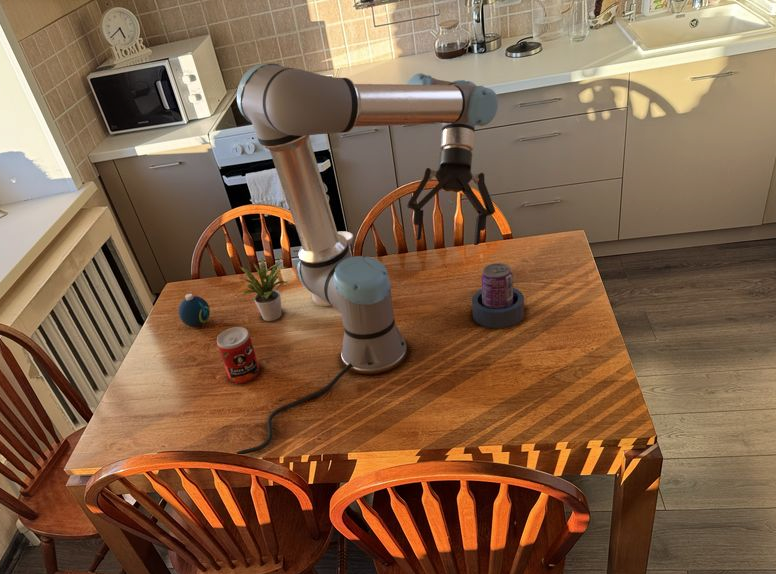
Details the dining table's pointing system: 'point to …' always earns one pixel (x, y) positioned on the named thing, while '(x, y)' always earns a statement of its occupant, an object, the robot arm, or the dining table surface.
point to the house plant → (266, 291)
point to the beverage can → (497, 286)
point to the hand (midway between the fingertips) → (447, 241)
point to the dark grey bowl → (498, 311)
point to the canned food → (238, 354)
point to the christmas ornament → (194, 311)
